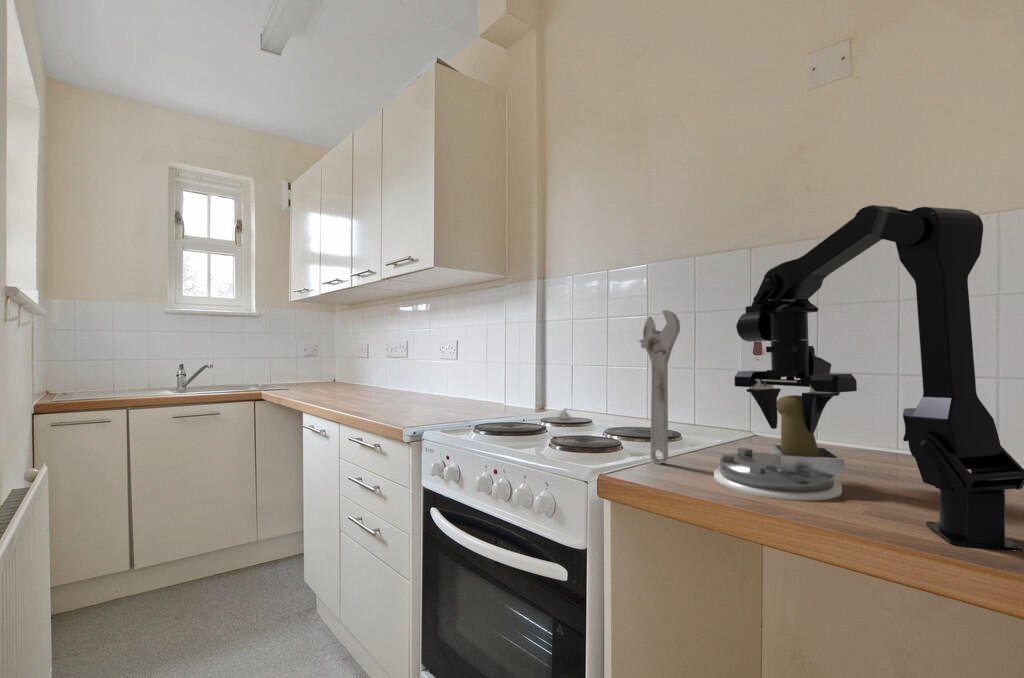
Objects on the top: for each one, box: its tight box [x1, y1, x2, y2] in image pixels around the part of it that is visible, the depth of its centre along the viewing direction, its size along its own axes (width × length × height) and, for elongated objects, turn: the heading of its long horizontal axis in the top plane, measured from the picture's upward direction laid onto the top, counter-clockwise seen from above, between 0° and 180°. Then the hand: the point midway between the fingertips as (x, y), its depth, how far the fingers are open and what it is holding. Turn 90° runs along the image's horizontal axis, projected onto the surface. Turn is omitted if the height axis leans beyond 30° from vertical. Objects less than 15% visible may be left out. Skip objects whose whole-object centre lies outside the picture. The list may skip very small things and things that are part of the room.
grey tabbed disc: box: [719, 443, 845, 492], centre depth 84 cm, size 17×17×4 cm
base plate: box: [713, 466, 843, 501], centre depth 84 cm, size 19×19×1 cm
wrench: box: [638, 309, 681, 465], centre depth 98 cm, size 8×2×30 cm, turn 46°
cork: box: [777, 394, 820, 457], centre depth 85 cm, size 6×6×11 cm
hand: (791, 431), depth 86 cm, fingers open, 6 cm apart
